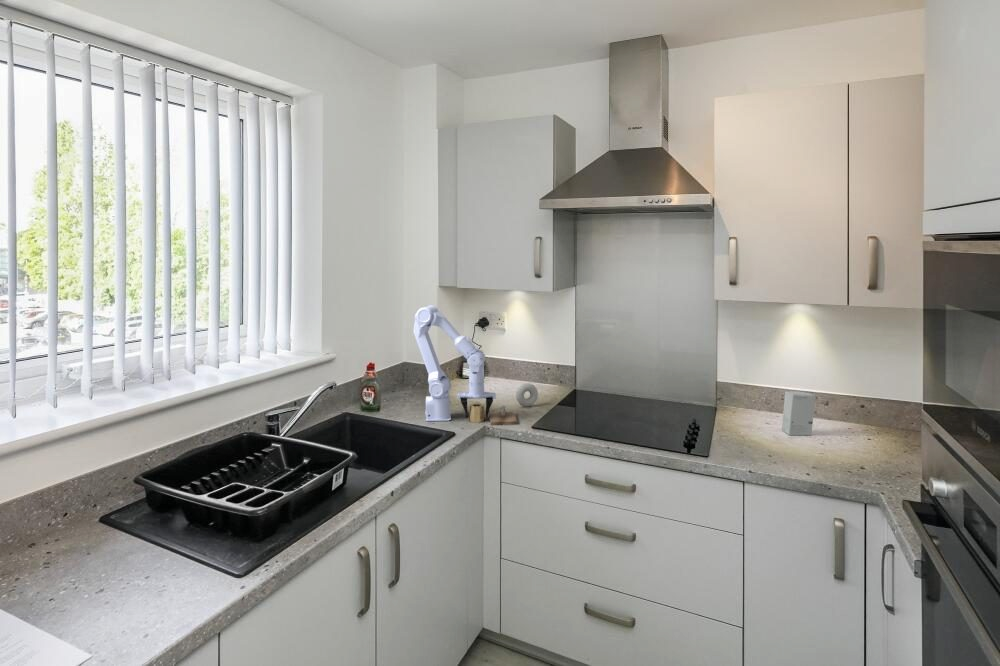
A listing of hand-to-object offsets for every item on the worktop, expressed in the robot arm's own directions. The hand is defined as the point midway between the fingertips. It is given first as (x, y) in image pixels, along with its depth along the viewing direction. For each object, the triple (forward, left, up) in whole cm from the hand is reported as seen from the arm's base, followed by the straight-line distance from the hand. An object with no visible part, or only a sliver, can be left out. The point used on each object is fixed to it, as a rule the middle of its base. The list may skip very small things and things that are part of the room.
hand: (476, 416), depth 215 cm
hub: (0, 0, -1) cm, 1 cm away
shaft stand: (+10, 0, -1) cm, 10 cm away
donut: (+22, +18, -2) cm, 28 cm away
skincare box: (+114, -25, -2) cm, 117 cm away
